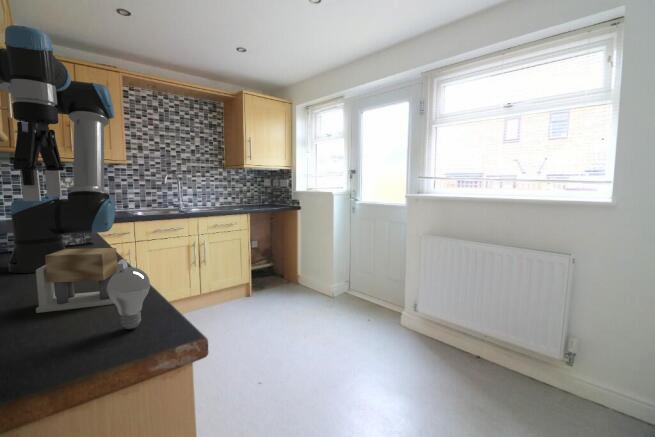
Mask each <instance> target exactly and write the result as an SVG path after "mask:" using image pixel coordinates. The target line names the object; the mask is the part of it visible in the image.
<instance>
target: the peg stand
mask: <svg viewBox="0 0 655 437" xmlns="http://www.w3.org/2000/svg"><path fill="white" fill-rule="evenodd" d="M127 267H128V259H127V258H122V259H120V260H119V261H117V271H119V270H120V269H123V268H127ZM35 275H36V276H35V277H36V286H37V298H38V306H37V307H36V308H35V312H36V314H38V313H47V312H56V311H65V310H72V309H73V310H74V309H81V308H91V307H98V306H99V307H101V306H106V305H107V306H108V305H109V306H110V305H115V304H114V302H113V301H112V300H111V299H110V298H109V296H108V294H107V284H108V281H109V279H110V277H111V276H112V275H111V276H110V277H108V278H106V279H105V280H98V288H99V290H98V291H91V292H79V293H75V285H74V284H75V283H74V282H75V281H72V282H50V283H47V272H46V265H44V266H42V267H40V268H39V269H37V270H36V272H35Z"/></svg>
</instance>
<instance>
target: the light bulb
mask: <svg viewBox="0 0 655 437" xmlns="http://www.w3.org/2000/svg"><path fill="white" fill-rule="evenodd" d="M150 288H151V282H150V278H149V276H148V274H147V273H146V272H144V271H143V270H142V269H141V268H137V267H133V266H131V267H130V266H127V268H123V269H120V270H119V271H117V272H115V273H114V274H113V275H112V276H111V277H110V279H109V281H108V284H107V294H108V296H109V298H110V299H111V300H112V301H113V302H114V304H113V305H115V306H116V308H117V312H118V314H119V315H120V326H122V327H123V328H124V329H126V330H129V331H133V330H135V329H136V328H137V327H138V326H139V324H140V323H141V321H142V315H141V313H142V312H141V311H142V309H143V304H144V301H145V299H146V297H147V295H148V294H149V291H150Z"/></svg>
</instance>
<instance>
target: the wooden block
mask: <svg viewBox="0 0 655 437" xmlns="http://www.w3.org/2000/svg"><path fill="white" fill-rule="evenodd" d="M117 254H118V253H117V248H116V247H98V248H95V247H94V248H66V249H64V250H61V251H58V252H55V253H52V254H49V255H45V261H46V272H47V283H50V282H54V283H55V282H72V281H73V282H91V281H99V280H105V279H106V278H108V277H110V276H111V275H113V274H114V273H115V272H117V263H118V255H117Z"/></svg>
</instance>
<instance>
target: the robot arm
mask: <svg viewBox="0 0 655 437" xmlns="http://www.w3.org/2000/svg"><path fill="white" fill-rule="evenodd" d="M4 45H5V48H0V90H1V91H3V92H6V93H8V94H10V95H11V99H12V100H13V102H12V103H11V105H12V115H13V116H12V117H13V118H14V120H16V121H17V122H16V125H17V128H16V129H17V130H16V131H17V133H16V142H15V150H14V159H13V164H12V165H13V166H12V167H13V169H14V170H19V172H20V182H21V191H22V198H18V199H15V200H13V201H12V202H11V205H10V209H11V210H10V212H11V213H9V214H10V216H11V218H10V219H11V224H12V226H11V227H12V235H13V236H12V237H13V244H14V245H13V249H12V253H11V255H10V258H9V261H8V264H7V265H8V272H10V273H13V274H27V273H30V274H31V273H36V270H37V269H39V268H40V267H42V266H44V265H46V261H45V255H49V254H52V253H55V252H58V251H61V250H64V249H67V248H66V246H65V244H64V242H63V235H75V234H77V235H78V234H98V233H99V234H100V233H107V232H109V231H110V230H111V229H112V227H113V225H114V222H115V217H116V201H115V199H113V198H110V196H111V195H110V193H109V192H107V191H106V190H105V127H106V126H108V125H109V123H110V119H111V120H112V119H114V118H115V110H114V109H115V108H114V105H113V104H114V103H113V101H112V100H113V99H112V97H111V93H110V90H109V88H108V87H107V86H106V85H104V84H101V83H95V82H85V81H77V80H72V76H71V73H70V72H69V70H68V68H67V67H66V66H65V64H64V63H63V62H61V61H60V60H59V59H57V58H56V56H55V55H54V52H53V51H54V47H53V44H52V39H51V37H50V36H49V35H48V34H46V33H45V32H43V31H42V30H39V29H36V28H33V27H29V26H24V25H18V24H17V25H16V24H14V25H13V24H12V25H7V27H5V30H4ZM59 115H67V117H68V119H69V120H70V121H71V122H73V185H72V186H73V188H72V189H71V190H69V191H68V192H67V197H66V198H67V199H64V198H62V199H61V197H62V194H63V193H62V185H61V184H62V183H61V182H62V181H61V174H60V173H61V172H60V171H64V170H65V169H64V168H65V167H64V166H63V164H62V160H61V156H60V152H59V148H58V143H57V138H56V132H55V130H54V129H50V127H49V125H56V124H59ZM39 156H40V157H41V159H42V161H43V164H44V167H45V169H46V170H44V176H45V186H46V188H45V189H46V195H44V196H42V195H41V194H42V193H41V186H40V184H41V183H40V174H39V170H38V169H37V164H38V161H39ZM36 169H37V170H36Z"/></svg>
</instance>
